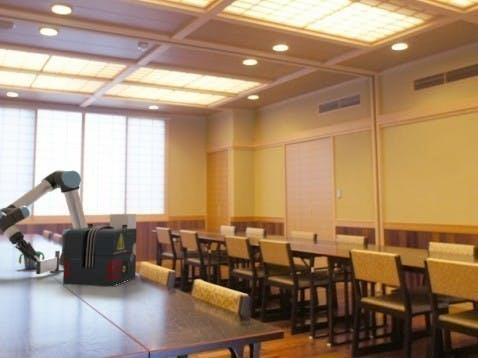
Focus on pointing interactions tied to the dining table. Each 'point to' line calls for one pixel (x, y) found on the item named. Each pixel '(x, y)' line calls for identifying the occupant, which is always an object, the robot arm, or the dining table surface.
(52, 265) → the swing panel
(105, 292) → the dining table surface
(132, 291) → the dining table surface
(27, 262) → the snack cup
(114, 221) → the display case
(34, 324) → the dining table surface
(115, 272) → the power unit
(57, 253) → the panel post
